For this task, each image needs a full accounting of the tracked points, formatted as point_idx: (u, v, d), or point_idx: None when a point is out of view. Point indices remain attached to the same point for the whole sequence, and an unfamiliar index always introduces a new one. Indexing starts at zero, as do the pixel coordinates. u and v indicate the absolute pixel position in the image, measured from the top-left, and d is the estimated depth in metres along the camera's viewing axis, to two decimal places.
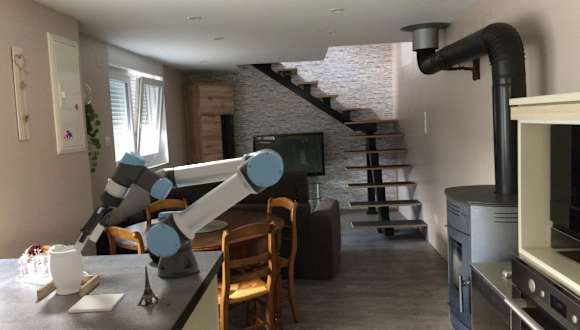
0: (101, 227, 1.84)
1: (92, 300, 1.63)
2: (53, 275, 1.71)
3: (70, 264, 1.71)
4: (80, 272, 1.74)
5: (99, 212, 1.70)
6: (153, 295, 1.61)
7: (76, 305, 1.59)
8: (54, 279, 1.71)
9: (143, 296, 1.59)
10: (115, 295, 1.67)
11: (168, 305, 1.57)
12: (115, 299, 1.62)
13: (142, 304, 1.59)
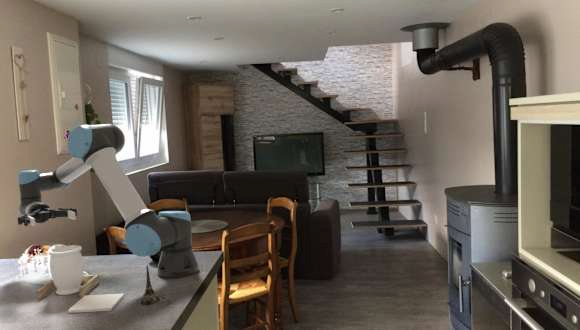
0: (68, 212, 1.89)
1: (92, 300, 1.63)
2: (53, 275, 1.71)
3: (70, 264, 1.71)
4: (80, 272, 1.74)
5: None
6: (154, 295, 1.61)
7: (76, 305, 1.59)
8: (54, 279, 1.71)
9: (144, 296, 1.59)
10: (115, 295, 1.67)
11: (169, 305, 1.57)
12: (115, 299, 1.62)
13: (143, 304, 1.59)
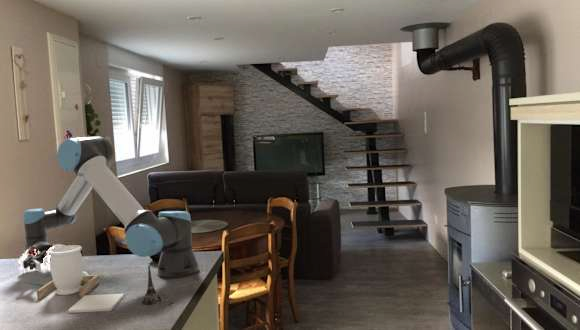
0: None
1: (92, 300, 1.63)
2: (53, 275, 1.71)
3: (70, 264, 1.71)
4: (80, 272, 1.74)
5: None
6: (156, 295, 1.61)
7: (76, 305, 1.59)
8: (54, 279, 1.71)
9: (146, 295, 1.60)
10: (115, 295, 1.67)
11: (171, 304, 1.58)
12: (115, 299, 1.62)
13: (145, 303, 1.60)
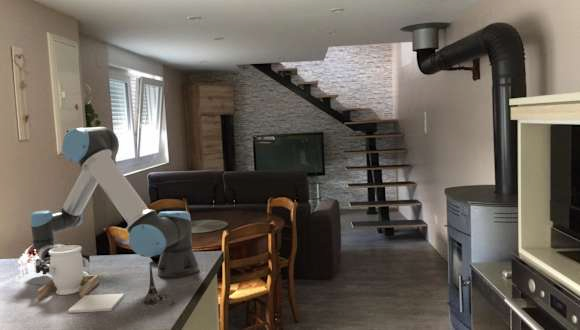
0: None
1: (92, 300, 1.63)
2: None
3: (70, 264, 1.71)
4: (80, 272, 1.74)
5: (36, 263, 1.79)
6: (158, 294, 1.61)
7: (76, 305, 1.59)
8: (54, 279, 1.71)
9: (148, 295, 1.60)
10: (115, 295, 1.67)
11: (173, 304, 1.58)
12: (115, 299, 1.62)
13: (147, 303, 1.60)
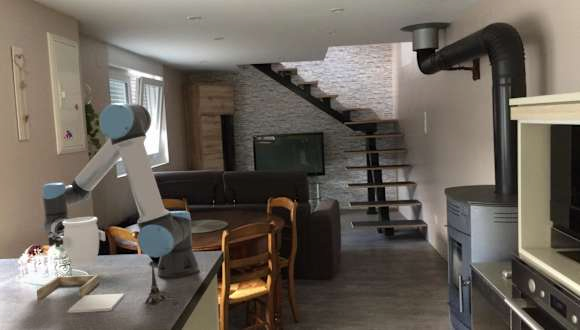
0: None
1: (92, 300, 1.63)
2: None
3: (86, 235, 1.58)
4: (96, 244, 1.61)
5: None
6: (160, 294, 1.62)
7: (76, 305, 1.59)
8: (68, 252, 1.59)
9: (150, 295, 1.60)
10: (115, 295, 1.67)
11: (175, 304, 1.58)
12: (115, 299, 1.62)
13: (149, 303, 1.60)
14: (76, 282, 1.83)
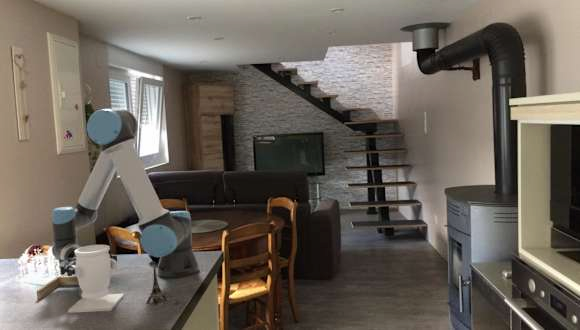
0: None
1: (92, 300, 1.63)
2: None
3: (98, 265, 1.56)
4: (108, 274, 1.60)
5: (60, 263, 1.65)
6: (161, 294, 1.62)
7: (76, 305, 1.59)
8: (80, 281, 1.57)
9: (151, 294, 1.60)
10: (115, 295, 1.67)
11: (176, 303, 1.58)
12: (115, 299, 1.62)
13: (150, 302, 1.60)
14: (76, 282, 1.83)
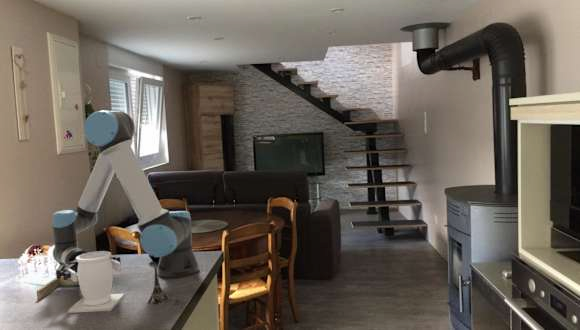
0: (111, 262, 1.67)
1: None
2: (81, 284, 1.57)
3: (100, 272, 1.57)
4: (110, 280, 1.60)
5: None
6: (162, 293, 1.62)
7: (76, 305, 1.59)
8: (82, 288, 1.57)
9: (153, 294, 1.60)
10: (115, 295, 1.67)
11: (178, 303, 1.58)
12: (115, 299, 1.62)
13: (152, 302, 1.60)
14: (76, 282, 1.83)
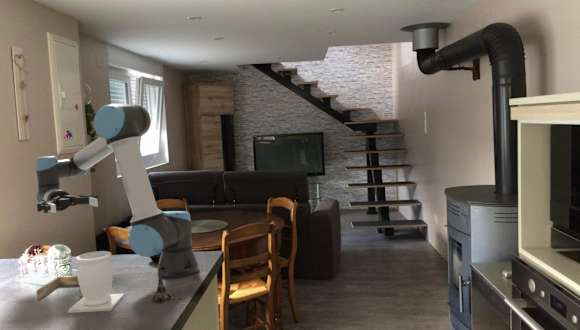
0: (89, 199, 1.79)
1: None
2: (81, 284, 1.57)
3: (100, 272, 1.57)
4: (110, 280, 1.60)
5: None
6: (166, 293, 1.62)
7: (76, 305, 1.59)
8: (82, 288, 1.57)
9: (156, 294, 1.61)
10: (115, 295, 1.67)
11: (181, 302, 1.59)
12: (115, 299, 1.62)
13: (155, 302, 1.61)
14: (76, 282, 1.83)
